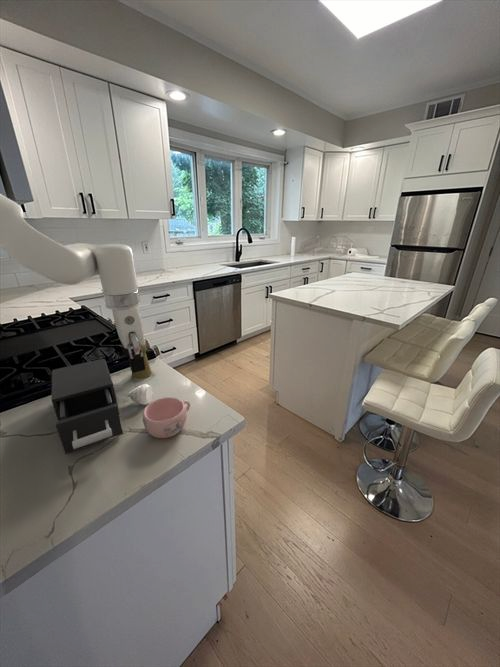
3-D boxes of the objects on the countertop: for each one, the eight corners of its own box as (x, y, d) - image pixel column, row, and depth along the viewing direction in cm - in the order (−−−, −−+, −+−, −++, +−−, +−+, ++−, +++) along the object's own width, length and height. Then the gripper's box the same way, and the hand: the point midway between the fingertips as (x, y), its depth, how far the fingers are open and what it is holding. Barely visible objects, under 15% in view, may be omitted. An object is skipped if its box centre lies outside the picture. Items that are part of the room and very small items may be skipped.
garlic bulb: (133, 396, 79) (130, 379, 77) (154, 396, 79) (151, 380, 77) (124, 408, 74) (121, 391, 72) (146, 408, 74) (144, 391, 72)
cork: (135, 381, 86) (130, 349, 82) (129, 373, 91) (124, 343, 86) (154, 375, 90) (150, 344, 86) (147, 367, 94) (143, 338, 90)
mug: (159, 451, 61) (155, 429, 58) (137, 429, 67) (133, 409, 65) (202, 423, 69) (201, 404, 66) (179, 406, 75) (177, 388, 73)
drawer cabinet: (119, 415, 72) (113, 383, 68) (62, 433, 65) (51, 400, 61) (110, 386, 84) (104, 358, 80) (61, 399, 77) (52, 369, 74)
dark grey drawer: (127, 447, 60) (121, 418, 57) (66, 471, 55) (55, 440, 52) (113, 401, 75) (107, 376, 72) (63, 416, 70) (55, 390, 67)
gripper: (148, 305, 60) (158, 373, 67) (131, 289, 74) (141, 347, 80) (110, 311, 57) (125, 382, 63) (100, 293, 70) (113, 353, 77)
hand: (134, 362), depth 72 cm, fingers open, 9 cm apart
